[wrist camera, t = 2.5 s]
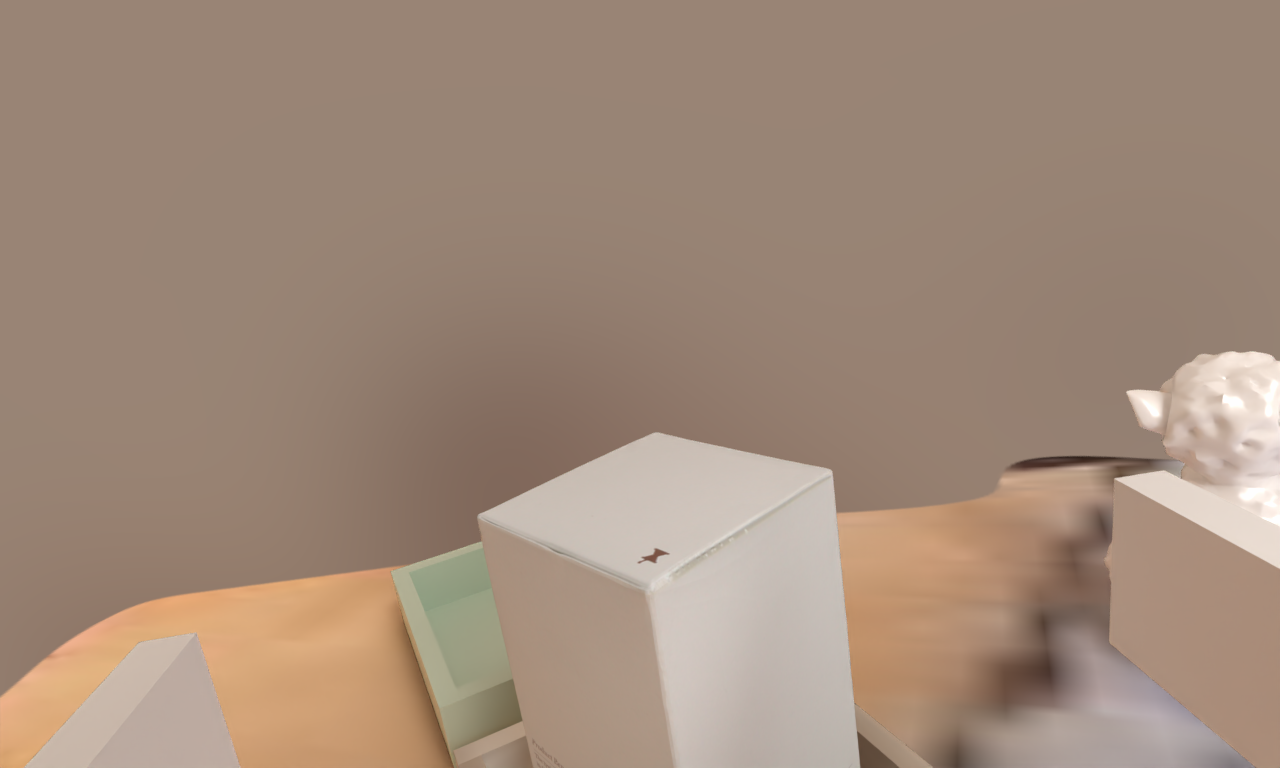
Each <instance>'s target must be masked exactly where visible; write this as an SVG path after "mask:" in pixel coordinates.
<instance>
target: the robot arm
mask: <svg viewBox="0 0 1280 768" xmlns="http://www.w3.org/2000/svg"><path fill="white" fill-rule="evenodd" d="M1109 643H1110V644H1111V645H1112V646H1114V647H1115V648H1116V649H1117V650H1118V651H1119V652H1121V653H1122V654H1123V655H1124V656H1125V657H1127V658H1128V659H1129V660H1130V661H1131V662H1132V663H1134V664H1135V665H1136V666H1137V667H1138V668H1139V669H1141V670H1142V671H1143V672H1144V673H1145V674H1146V675H1148V676H1149V677H1150V678H1151V679H1152V680H1154V681H1155V682H1156V683H1157V684H1158V685H1159V686H1161V687H1162V688H1163V689H1164V690H1165V691H1166V692H1168V693H1169V694H1170V695H1171V696H1172V697H1174V698H1175V699H1176V700H1177V701H1178V702H1179V703H1181V704H1182V705H1183V706H1184V707H1185V708H1186V709H1188V710H1189V711H1190V712H1191V713H1192V714H1194V715H1195V716H1196V717H1197V718H1198V719H1199V720H1201V721H1202V722H1203V723H1204V724H1205V725H1206V726H1208V727H1209V728H1210V729H1211V730H1212V731H1213V732H1215V733H1216V734H1217V735H1218V736H1219V737H1221V738H1222V739H1223V740H1224V741H1225V742H1226V743H1228V744H1229V745H1230V746H1231V747H1232V748H1233V749H1235V750H1236V751H1237V752H1238V753H1239V754H1241V755H1242V756H1243V757H1244V758H1245V759H1246V760H1248V761H1249V762H1250V763H1251V764H1252V765H1253V766H1255V767H1256V768H1280V526H1278V525H1276V524H1274V523H1272V522H1270V521H1267V520H1265V519H1263V518H1261V517H1259V516H1257V515H1255V514H1253V513H1251V512H1249V511H1247V510H1245V509H1243V508H1241V507H1239V506H1237V505H1235V504H1232V503H1230V502H1228V501H1226V500H1224V499H1222V498H1220V497H1218V496H1216V495H1214V494H1212V493H1210V492H1208V491H1206V490H1204V489H1202V488H1200V487H1197V486H1195V485H1193V484H1191V483H1189V482H1187V481H1185V480H1183V479H1181V478H1179V477H1177V476H1175V475H1173V474H1171V473H1169V472H1167V471H1165V470H1163V471H1157V472H1151V473H1145V474H1139V475H1133V476H1127V477H1121V478H1115V479H1114V503H1113V535H1112V567H1111V599H1110V631H1109ZM24 768H240V765H239V761H238V758H237V755H236V752H235V749H234V746H233V743H232V740H231V737H230V734H229V731H228V728H227V725H226V722H225V719H224V715H223V712H222V709H221V706H220V703H219V700H218V697H217V694H216V691H215V688H214V685H213V682H212V679H211V676H210V673H209V669H208V666H207V663H206V660H205V657H204V654H203V651H202V648H201V645H200V642H199V639H198V636H197V633H190V634H184V635H179V636H173V637H167V638H161V639H155V640H149V641H143V642H139V643H138V644H137V645H136V646H135V647H134V648H133V649H132V650H131V651H130V652H129V654H128V655H127V656H126V657H125V658H124V659H123V660H122V661H121V662H120V663H119V664H118V666H117V667H116V668H115V669H114V670H113V671H112V672H111V673H110V674H109V675H108V676H107V678H106V679H105V680H104V681H103V682H102V683H101V684H100V685H99V686H98V687H97V688H96V690H95V691H94V692H93V693H92V694H91V695H90V696H89V697H88V698H87V699H86V700H85V702H84V703H83V704H82V705H81V706H80V707H79V708H78V709H77V710H76V711H75V712H74V714H73V715H72V716H71V717H70V718H69V719H68V720H67V721H66V722H65V723H64V724H63V726H62V727H61V728H60V729H59V730H58V731H57V732H56V733H55V734H54V735H53V736H52V738H51V739H50V740H49V741H48V742H47V743H46V744H45V745H44V746H43V747H42V748H41V750H40V751H39V752H38V753H37V754H36V755H35V756H34V757H33V758H32V759H31V760H30V762H29V763H28V764H27V765H26V766H25V767H24Z"/></svg>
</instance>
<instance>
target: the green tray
mask: <svg viewBox="0 0 1280 768" xmlns="http://www.w3.org/2000/svg"><path fill="white" fill-rule="evenodd" d="M391 575H392V579H393V583H394V586H395V590H396V594H397V598H398V602H399V606H400V609H401V613H402V617H403V621H404V624H405V627H406V630H407V633H408V636H409V639H410V642H411V644H412V647H413V650H414V653H415V656H416V659H417V662H418V665H419V668H420V671H421V674H422V676H423V679H424V682H425V685H426V688H427V691H428V694H429V697H430V700H431V703H432V705H433V708H434V711H435V714H436V717H437V720H438V723H439V726H440V729H441V732H442V735H443V737H444V740H445V743H446V746H447V749H448V752H449V755H450V758H451V761H452V764H453V767H454V768H457V764H456V760H455V756H454V752H453V751H454V750H456V749H458V748H461V747H463V746H465V745H468V744H470V743H472V742H475V741H477V740H479V739H482V738H484V737H486V736H489V735H491V734H493V733H496V732H498V731H500V730H503V729H505V728H507V727H510V726H512V725H514V724H517V723H519V722H521V721H523V720H522V716H521V711H520V707H519V703H518V698H517V694H516V690H515V685H514V681H513V677H512V672H511V668H510V664H509V660H508V655H507V651H506V647H505V642H504V638H503V634H502V629H501V625H500V620H499V616H498V612H497V608H496V603H495V599H494V595H493V590H492V585H491V581H490V576H489V572H488V567H487V563H486V558H485V554H484V549H483V544H482V541H481V542H478V543H475V544H472V545H469V546H466V547H463V548H460V549H457V550H454V551H451V552H448V553H445V554H442V555H439V556H436V557H433V558H430V559H427V560H424V561H420V562H417V563H414V564H411V565H408V566H405V567H402V568H399V569H396V570H393V571H391Z"/></svg>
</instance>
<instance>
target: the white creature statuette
mask: <svg viewBox="0 0 1280 768" xmlns="http://www.w3.org/2000/svg"><path fill="white" fill-rule="evenodd" d="M1126 394H1127V396H1128V398H1129V401H1130V403H1131V406H1132V408H1133V411H1134V413H1135V415H1136V418H1137V421H1138V424H1139V426H1141V427H1142V428H1144V429H1146V430H1149V431H1153V432H1156V433H1159V434H1161V441H1162V443H1163V444H1164V446H1165V449H1166V454H1167V455H1169V456H1170V457H1172V458H1175V459H1178V460H1180V461H1182V462H1183V463H1185V465H1184V467H1183V469H1182V470H1181V479H1183V480H1185V481H1187V482H1189V483H1191V484H1193V485H1195V486H1197V487H1200V488H1202V489H1204V490H1206V491H1208V492H1210V493H1212V494H1214V495H1216V496H1218V497H1220V498H1222V499H1224V500H1226V501H1228V502H1230V503H1232V504H1235V505H1237V506H1239V507H1241V508H1243V509H1245V510H1247V511H1249V512H1251V513H1253V514H1255V515H1257V516H1259V517H1261V518H1263V519H1265V520H1267V521H1270V522H1272V523H1274V524H1276V525H1278V526H1280V361H1276V360H1275V358H1274V357H1273V356H1271V355H1269V354H1265V353H1258V352H1254V351H1251V352H1244V353H1237V352H1234V351H1230V352H1223V353H1221V354H1217V355H1209V354H1201V355H1198V356H1196V358H1195V359H1194V360H1193V361H1192V362H1191V363H1187V364H1184V365H1183V366H1182V367H1180V368H1179V369H1178V370H1177V371H1176V372H1175V375H1174V376H1173V377H1172V378H1171V379H1169V380H1167V381H1166V382H1164V383H1163V385H1162V386H1161V387H1160V391H1150V390H1129V391H1127V392H1126ZM1104 563H1105V566H1106V567H1107V568H1108V569H1109V572H1110V574H1109V578H1110V580H1111V567H1112V543H1111V544H1110V546H1109V548H1108V552H1107V556H1106V557H1105V558H1104Z"/></svg>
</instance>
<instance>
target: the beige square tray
mask: <svg viewBox="0 0 1280 768" xmlns="http://www.w3.org/2000/svg"><path fill="white" fill-rule="evenodd" d="M854 707H855V718H856V728H857V737H858V749H859V759H860V768H933V767H932V766H931V765H930V764H928V763H927V762H926V761H925V760H923V759H922V758H921V757H920V756H919V755H917V754H916V753H915V752H914V751H912V750H911V749H910V748H909V747H908V746H906V745H905V744H904V743H903V742H902V741H900V740H899V739H898V738H897V737H895V736H894V735H893V734H892V733H891V732H889V731H888V730H887V729H886V728H884V727H883V726H882V725H881V724H880V723H878V722H877V721H876V720H875V719H874V718H872V717H871V716H870V715H869V714H867V713H866V712H865V711H864V710H863V709H861V708H860V707H859V706H858V705H857V704H855V703H854ZM453 752H454V756H455V760H456V764H457V768H533V764H532V760H531V756H530V751H529V747H528V742H527V738H526V734H525V729H524V725H523V721H521V722H519V723H517V724H514V725H512V726H510V727H507V728H505V729H503V730H500V731H498V732H496V733H493V734H491V735H489V736H486V737H484V738H482V739H479V740H477V741H475V742H472V743H470V744H468V745H465V746H463V747H461V748H458V749H456V750H454V751H453Z"/></svg>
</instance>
